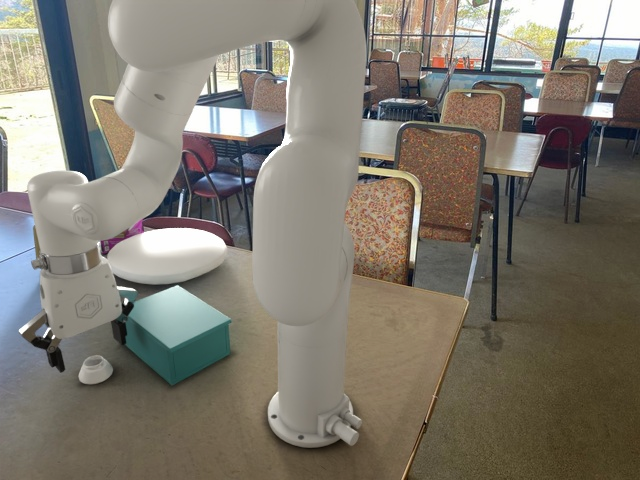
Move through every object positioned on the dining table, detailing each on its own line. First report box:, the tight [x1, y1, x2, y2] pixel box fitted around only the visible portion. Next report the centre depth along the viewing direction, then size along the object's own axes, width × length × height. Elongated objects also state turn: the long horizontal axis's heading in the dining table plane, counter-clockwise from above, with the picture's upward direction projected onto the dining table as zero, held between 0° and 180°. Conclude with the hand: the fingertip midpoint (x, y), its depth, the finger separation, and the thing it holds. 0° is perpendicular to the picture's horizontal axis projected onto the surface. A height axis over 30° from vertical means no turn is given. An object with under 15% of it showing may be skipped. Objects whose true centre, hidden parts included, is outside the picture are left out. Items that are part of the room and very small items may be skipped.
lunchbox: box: [125, 319, 231, 386], centre depth 84 cm, size 16×12×7 cm
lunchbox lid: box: [128, 284, 232, 353], centre depth 82 cm, size 16×12×1 cm
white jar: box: [78, 354, 114, 385], centre depth 77 cm, size 5×3×5 cm
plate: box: [106, 227, 228, 286], centre depth 114 cm, size 28×6×27 cm
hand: (90, 353), depth 76 cm, fingers open, 9 cm apart
